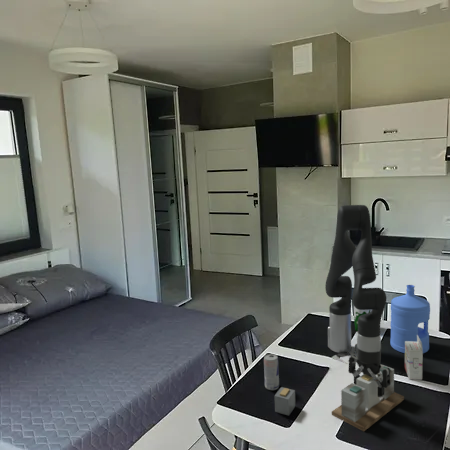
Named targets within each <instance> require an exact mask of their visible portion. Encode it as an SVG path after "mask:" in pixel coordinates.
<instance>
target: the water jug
mask: <svg viewBox="0 0 450 450" xmlns="http://www.w3.org/2000/svg"><path fill="white" fill-rule="evenodd" d="M415 287H416V286H415V285H413V284H407V285H406V294H403V295H400V296H396V297H393V298H392V299H391V301H390V339H389V341H390V343H389V344H390V346H391V348H393V349H394V350H395V351H397V352H399V353H403V354H405V341H413V342H417V335H418V337H419V339H420V341H421V342H422V350H423V354H425V353H427V352H428V351H429V350H430V332H429V320H430V314H431V304H430V302H429V301H428V300H427V299H425V298H423V297H420V296H417V295H416V294H415ZM422 323H423V327H421V326H419V324H422ZM419 343H420V342H419Z"/></svg>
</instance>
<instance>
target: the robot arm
mask: <svg viewBox="0 0 450 450" xmlns="http://www.w3.org/2000/svg"><path fill="white" fill-rule="evenodd" d="M336 215H337V216H336V227H335V235H334V236H335V237H334V242H333V247H332V252H331V259H330V265H329V266H330V267H329V269H328V273H327V277H326V279H325V288H324V289H325V293H326V295H327V296H328V297H329V298H333V299H334V298H336V299H337V298H338V299H339V300H337V301H334V302H332V303H331V304H330V305H329V307H328V309H329V326H328V327H327V347H328V348H329V349H330V350H331V351H333V352H334V353H337V354H339V353H346V352H348V353H350V352H351V350H352V305H353V307H354V306H355V308H357V309H359V310H372V311H371V312H370V313H367V314H363V315H361V316H359V318H358V331H357V338H356V344H357V353H356V354H353V355H352V356H351V355H350V357H348V360H349V362H348V373H349V374H352V376H353V384H355V385H356V379H357V378H359V377H360V376H361V373H362V375H363V374H365V375H368V376H370V377H372V378H373V379H374V381H376V383H377V385H378V397H382V396H383V395H384V388H387V387H388V386H389V385H390V384H391V383H390V369H389V368H383V367H381V360H382V339H381V338H382V337H381V322H382V317H383V313H384V310H385V308H386V305H387V294H386V292H385V290H384V289H383V288H381V287H363V286H365V285H370V284H372V283H374V282H375V281H376V279H377V273H376V269H375V263H374V258H373V249H372V248H373V245H372V243H373V242H372V239H373V238H372V223H371V215H370V210H369V208H368V206H367V205H365V204H349V205H347V204H346V205H340V207H339V208H338V210H337V214H336ZM348 231H361V236H360V239H359V242H358V244H357V246H356V245H355V243H354V242H353V241H352V239H351V238H350V237H349V236H348V234H347V232H348ZM351 268H352V271H353V272H352V273H353V279H354V282H353V283H352V279H351V277H350V276H348V275H344V274H346V273H347V272H348V271H349V270H350V269H351ZM356 365H357V366H358V368H357V367H356ZM356 368H357V369H356ZM380 371H381V372H382V374H381V373H380ZM376 375H378V377H376ZM382 375H383V378H382ZM379 380H380V381H379Z"/></svg>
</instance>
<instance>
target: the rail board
mask: <svg viewBox="0 0 450 450" xmlns="http://www.w3.org/2000/svg"><path fill="white" fill-rule="evenodd" d="M380 365H381V367H383V368H389V369H390V383H391V384H390V385H389V386H388V387H387V388H384V395H383V396H382V397H380V401H379V402H377V403H376V404H375V405H373V406H372V407H371V408H369V409H367V408H366V389H365V388H362V387H360V386H358V385H355V384H354V382H353V383H350V384H348V385H346V386H345V387H344V388H342V389H341V391H340V392H341V393H340V395H341V401H340V402H341V404H340V405H339V406H338V407H336V408H335V409H333V410H332V411H331V416H333V417H335V418H337V419H339V420H341V421H342V422H345V423H347V424H349V425H350V426H353V427H354V428H356V429H358V430H360V431H362V432H365V431H367V429H369V428H370V427H372V426H373V425H374V424H375V423H376V422H378V421H379V420H380V419H381V418H382V417H384V416H386V415H387V413H389V412H390V411H391V410H393V409H394V408H396V406H398V405H399V404H401V403H402V402H403V401H404V400H405V396H404V395H401V394H400V393H398V392H395V368H392V367H390V366H387V365H384V364H381V363H380ZM380 373H381V374H382V372H381V371H380ZM382 378H383V375H382Z"/></svg>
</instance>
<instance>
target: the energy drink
mask: <svg viewBox="0 0 450 450" xmlns="http://www.w3.org/2000/svg"><path fill="white" fill-rule="evenodd" d="M263 369H264V370H263V372H264V387H265V389H266V390H268V391H276V390H279V389H280V388H279V387H280V378H279V377H280V376H279V375H280V374H279V373H280V372H279V358H278V355H276V354H274V353H267V354H265V355H264V357H263Z"/></svg>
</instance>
